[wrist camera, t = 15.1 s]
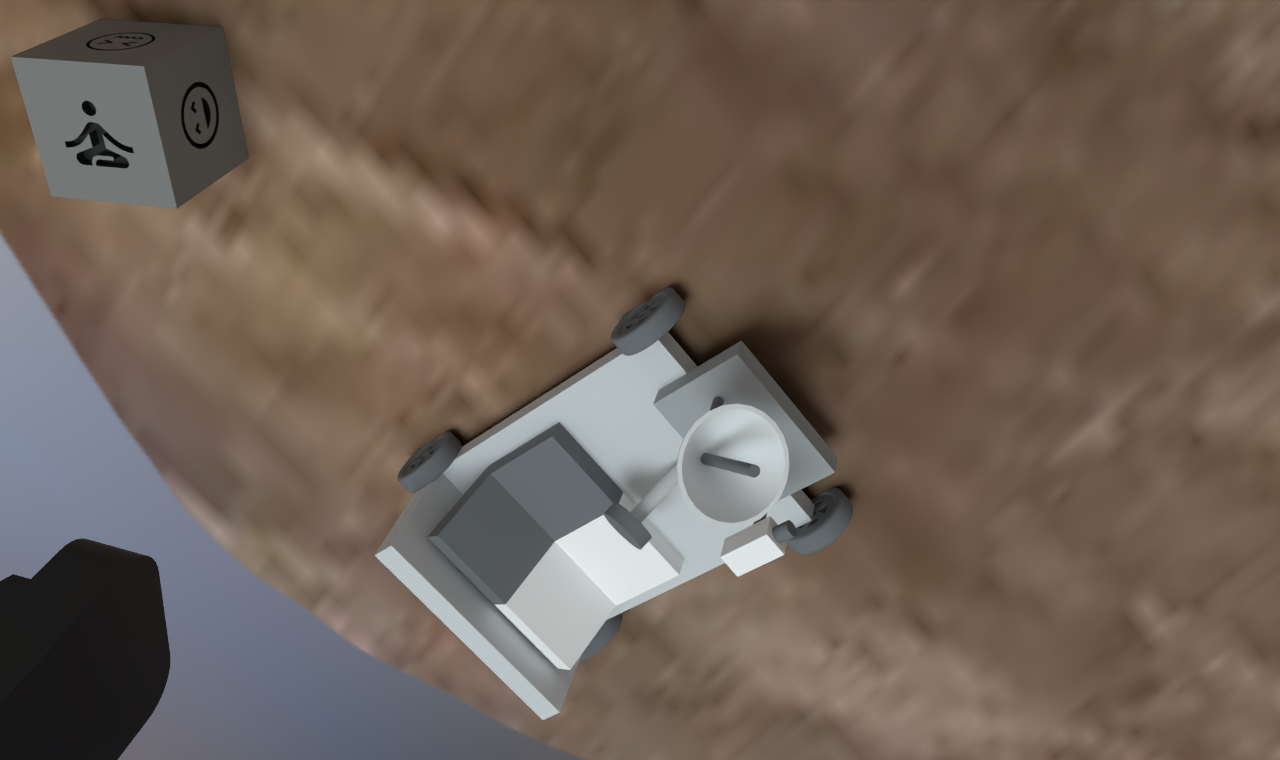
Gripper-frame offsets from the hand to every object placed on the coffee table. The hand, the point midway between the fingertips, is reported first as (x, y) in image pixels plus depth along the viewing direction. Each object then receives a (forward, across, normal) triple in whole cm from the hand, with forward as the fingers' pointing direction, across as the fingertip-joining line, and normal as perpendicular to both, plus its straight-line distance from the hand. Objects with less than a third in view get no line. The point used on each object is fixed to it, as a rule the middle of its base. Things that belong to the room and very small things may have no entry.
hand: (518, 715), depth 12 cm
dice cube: (+30, +23, +8) cm, 39 cm away
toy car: (+31, +3, +20) cm, 37 cm away
